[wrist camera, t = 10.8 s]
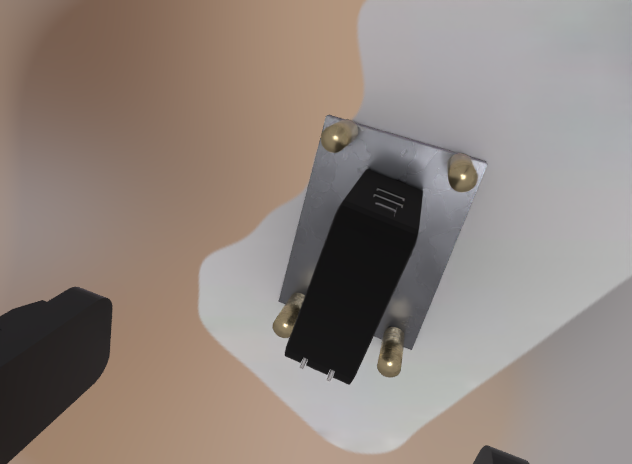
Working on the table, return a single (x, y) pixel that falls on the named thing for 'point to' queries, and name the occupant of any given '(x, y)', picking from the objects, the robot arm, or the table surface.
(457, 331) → the table surface
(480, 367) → the table surface
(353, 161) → the chassis
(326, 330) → the electronic device
